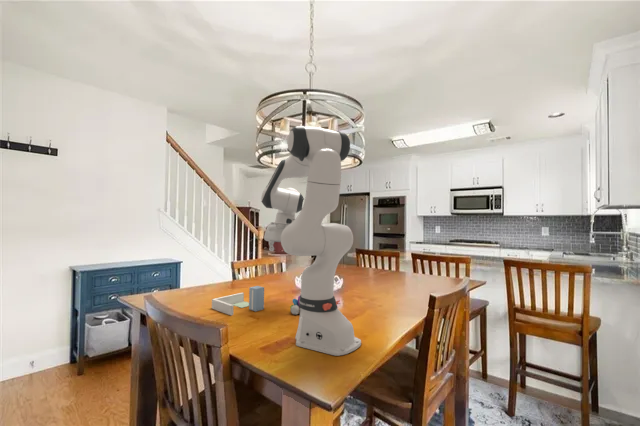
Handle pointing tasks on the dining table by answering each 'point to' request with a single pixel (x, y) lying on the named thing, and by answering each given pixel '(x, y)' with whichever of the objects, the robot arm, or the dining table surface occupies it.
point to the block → (256, 298)
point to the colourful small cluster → (295, 306)
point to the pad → (241, 304)
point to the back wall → (231, 298)
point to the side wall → (223, 307)
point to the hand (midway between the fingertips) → (278, 251)
